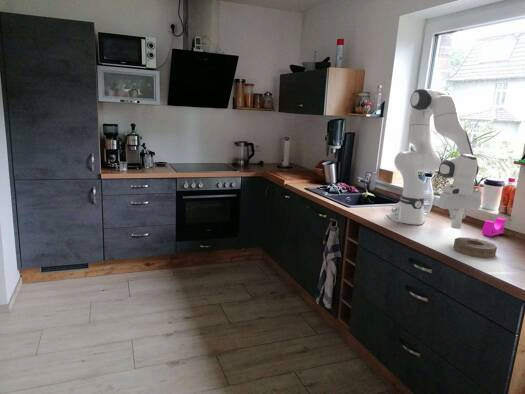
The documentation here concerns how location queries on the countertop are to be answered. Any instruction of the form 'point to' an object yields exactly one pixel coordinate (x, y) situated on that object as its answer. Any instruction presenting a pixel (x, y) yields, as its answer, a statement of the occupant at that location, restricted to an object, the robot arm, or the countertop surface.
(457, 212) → the dowel
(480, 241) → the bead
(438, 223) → the countertop surface
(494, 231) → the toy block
